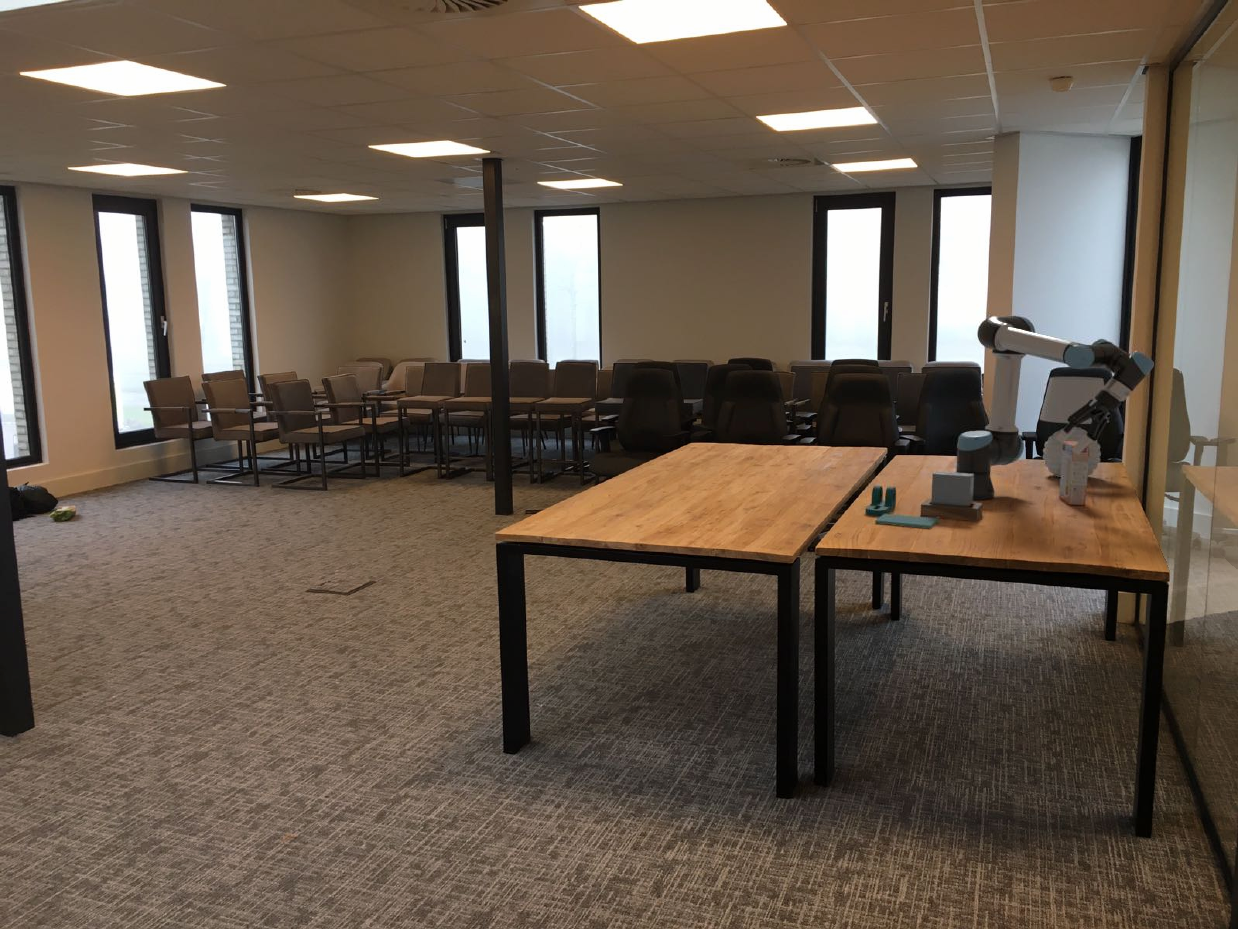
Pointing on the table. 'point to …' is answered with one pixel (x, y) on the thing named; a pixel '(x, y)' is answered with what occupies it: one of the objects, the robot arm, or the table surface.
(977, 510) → the slotted block
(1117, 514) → the table surface
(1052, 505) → the table surface
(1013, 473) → the table surface
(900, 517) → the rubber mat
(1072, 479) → the cracker box
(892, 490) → the bracket
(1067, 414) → the table lamp
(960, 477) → the dark grey block
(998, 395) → the robot arm
